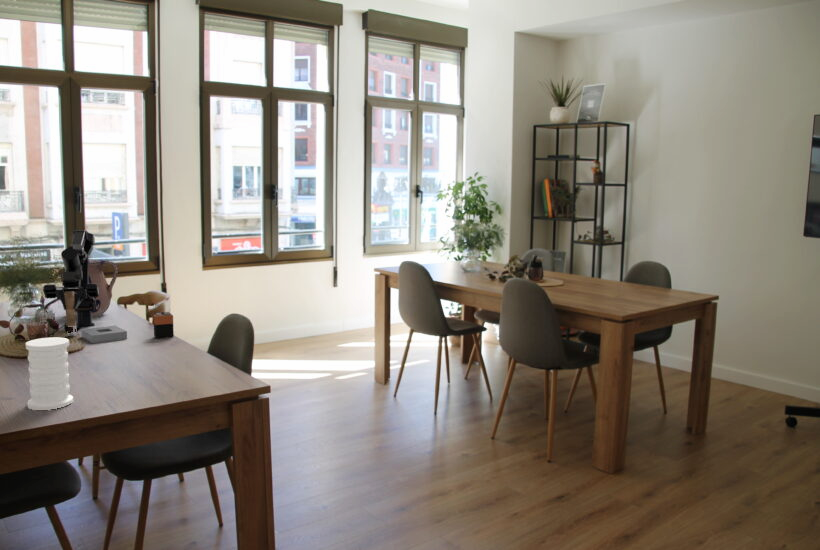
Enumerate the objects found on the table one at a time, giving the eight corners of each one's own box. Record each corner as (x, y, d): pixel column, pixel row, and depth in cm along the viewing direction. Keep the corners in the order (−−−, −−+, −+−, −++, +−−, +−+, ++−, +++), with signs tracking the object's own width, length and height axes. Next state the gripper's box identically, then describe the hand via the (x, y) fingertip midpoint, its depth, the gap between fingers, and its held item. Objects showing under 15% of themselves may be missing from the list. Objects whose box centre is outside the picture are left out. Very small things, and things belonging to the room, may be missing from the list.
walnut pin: (64, 325, 267) (63, 291, 265) (73, 324, 269) (71, 290, 267) (68, 326, 265) (67, 292, 263) (77, 325, 267) (75, 291, 265)
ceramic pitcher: (72, 312, 325) (69, 258, 322) (121, 310, 331) (119, 257, 328) (65, 320, 309) (63, 263, 305) (117, 318, 315) (115, 262, 311)
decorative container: (31, 413, 192) (27, 348, 189) (24, 401, 201) (20, 340, 198) (77, 406, 198) (74, 343, 196) (69, 395, 208) (66, 335, 205)
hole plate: (81, 337, 278) (81, 329, 278) (115, 332, 287) (115, 325, 287) (92, 343, 269) (92, 335, 268) (127, 338, 277) (126, 331, 277)
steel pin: (66, 336, 280) (66, 321, 279) (75, 335, 282) (74, 320, 281) (69, 337, 277) (68, 322, 276) (77, 336, 279) (77, 321, 278)
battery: (173, 337, 281) (173, 312, 280) (156, 339, 278) (155, 314, 276) (171, 335, 285) (170, 310, 284) (153, 336, 282) (153, 312, 280)
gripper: (42, 263, 264) (38, 297, 256) (96, 262, 270) (94, 296, 261) (47, 280, 273) (43, 314, 264) (99, 279, 279) (97, 312, 270)
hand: (69, 309), depth 265 cm, fingers closed on walnut pin, 3 cm apart
